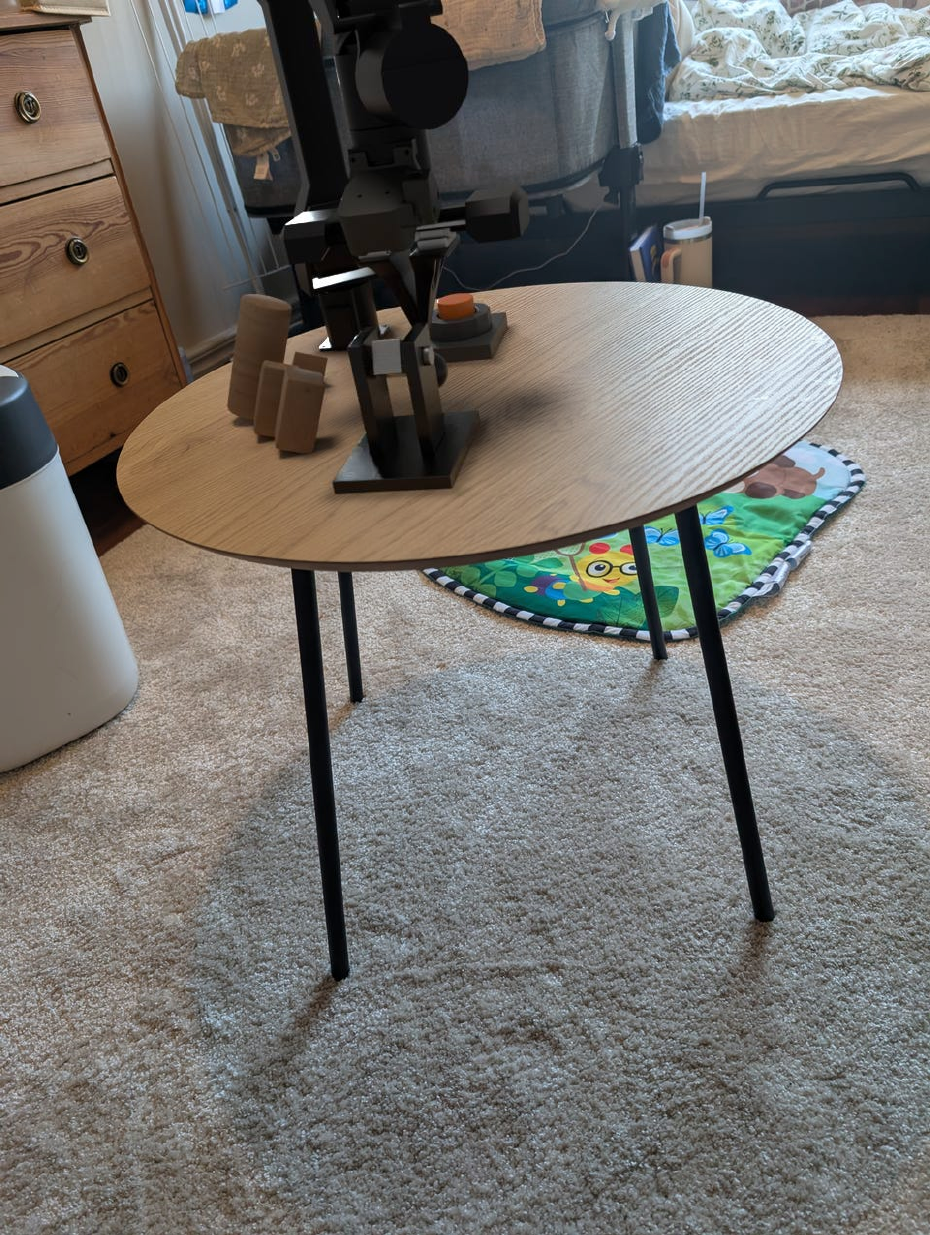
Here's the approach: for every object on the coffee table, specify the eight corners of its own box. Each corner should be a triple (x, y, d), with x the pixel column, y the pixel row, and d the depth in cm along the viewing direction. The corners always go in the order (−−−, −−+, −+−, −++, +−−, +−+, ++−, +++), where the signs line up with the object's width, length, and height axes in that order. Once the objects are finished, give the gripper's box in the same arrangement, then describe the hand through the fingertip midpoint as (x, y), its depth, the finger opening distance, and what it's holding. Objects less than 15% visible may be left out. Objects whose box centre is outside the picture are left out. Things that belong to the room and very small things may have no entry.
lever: (417, 393, 78) (415, 355, 77) (453, 390, 77) (451, 352, 76) (366, 381, 65) (363, 335, 65) (409, 377, 64) (406, 331, 64)
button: (443, 312, 91) (441, 295, 90) (478, 309, 91) (475, 291, 90) (436, 323, 89) (433, 305, 88) (471, 320, 88) (469, 302, 87)
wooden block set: (330, 477, 75) (354, 359, 70) (224, 460, 73) (241, 336, 67) (316, 397, 90) (335, 294, 84) (227, 381, 87) (241, 274, 82)
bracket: (377, 430, 76) (352, 314, 71) (480, 423, 74) (463, 303, 69) (335, 496, 67) (302, 369, 61) (452, 491, 65) (429, 358, 59)
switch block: (434, 334, 96) (429, 301, 94) (508, 328, 94) (503, 294, 92) (413, 367, 88) (406, 332, 86) (492, 361, 86) (487, 325, 84)
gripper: (225, 159, 61) (285, 380, 70) (494, 119, 56) (522, 361, 65) (282, 135, 70) (329, 334, 78) (519, 99, 65) (540, 314, 74)
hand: (423, 336), depth 74 cm, fingers closed
